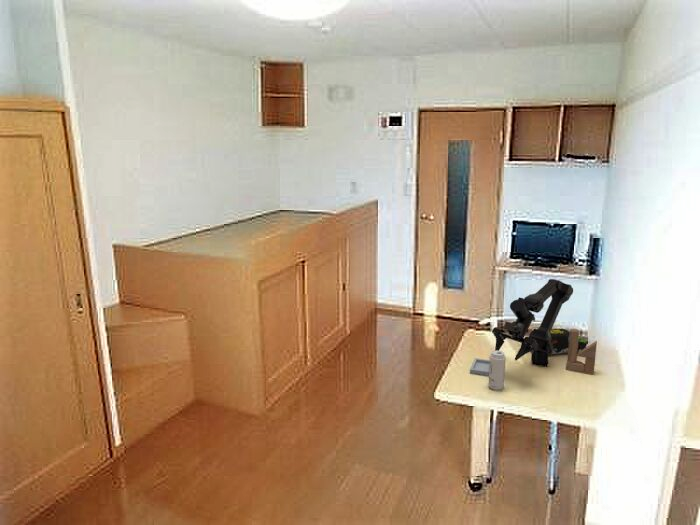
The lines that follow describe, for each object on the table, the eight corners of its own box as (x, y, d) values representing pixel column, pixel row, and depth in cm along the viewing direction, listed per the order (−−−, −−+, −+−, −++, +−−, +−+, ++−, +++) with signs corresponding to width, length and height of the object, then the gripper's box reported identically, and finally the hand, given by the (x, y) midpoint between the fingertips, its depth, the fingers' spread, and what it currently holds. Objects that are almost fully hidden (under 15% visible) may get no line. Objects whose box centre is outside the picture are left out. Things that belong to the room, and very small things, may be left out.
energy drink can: (486, 384, 209) (488, 350, 206) (501, 384, 209) (503, 349, 206) (490, 391, 203) (492, 356, 200) (505, 391, 203) (507, 355, 200)
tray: (502, 366, 225) (502, 362, 225) (498, 378, 214) (499, 373, 214) (474, 362, 230) (474, 358, 229) (469, 373, 219) (470, 369, 218)
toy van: (587, 354, 236) (589, 333, 234) (537, 358, 233) (538, 337, 230) (574, 345, 246) (575, 325, 244) (525, 349, 243) (527, 329, 240)
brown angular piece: (593, 375, 215) (597, 334, 211) (565, 369, 221) (569, 330, 216) (594, 371, 218) (598, 331, 214) (566, 366, 224) (570, 327, 219)
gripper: (495, 308, 213) (478, 340, 209) (536, 319, 199) (518, 354, 195) (505, 321, 220) (488, 352, 216) (545, 333, 206) (528, 367, 202)
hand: (505, 356), depth 207 cm, fingers open, 9 cm apart
